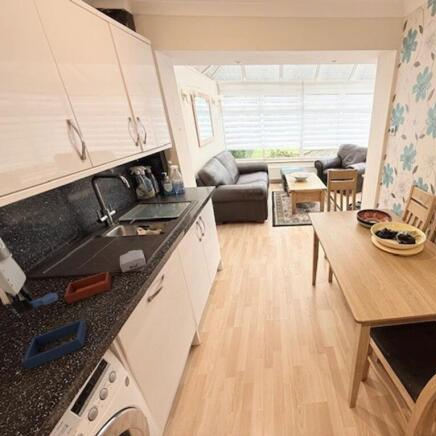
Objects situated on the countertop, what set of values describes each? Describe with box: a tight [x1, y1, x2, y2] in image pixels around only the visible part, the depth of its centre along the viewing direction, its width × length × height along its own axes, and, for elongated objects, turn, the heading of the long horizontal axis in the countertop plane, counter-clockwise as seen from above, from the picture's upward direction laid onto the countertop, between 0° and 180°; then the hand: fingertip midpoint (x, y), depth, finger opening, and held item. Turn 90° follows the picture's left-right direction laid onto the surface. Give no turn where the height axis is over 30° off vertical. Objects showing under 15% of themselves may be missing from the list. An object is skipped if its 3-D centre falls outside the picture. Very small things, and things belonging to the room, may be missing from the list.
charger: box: [119, 249, 147, 273], centre depth 113 cm, size 5×9×15 cm
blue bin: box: [22, 318, 88, 370], centre depth 72 cm, size 12×9×4 cm
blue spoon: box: [11, 292, 59, 315], centre depth 72 cm, size 10×4×2 cm, turn 124°
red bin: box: [63, 270, 112, 305], centre depth 96 cm, size 13×9×4 cm
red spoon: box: [75, 280, 105, 292], centre depth 96 cm, size 10×4×2 cm, turn 122°
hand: (27, 308), depth 71 cm, fingers closed on blue spoon, 1 cm apart
